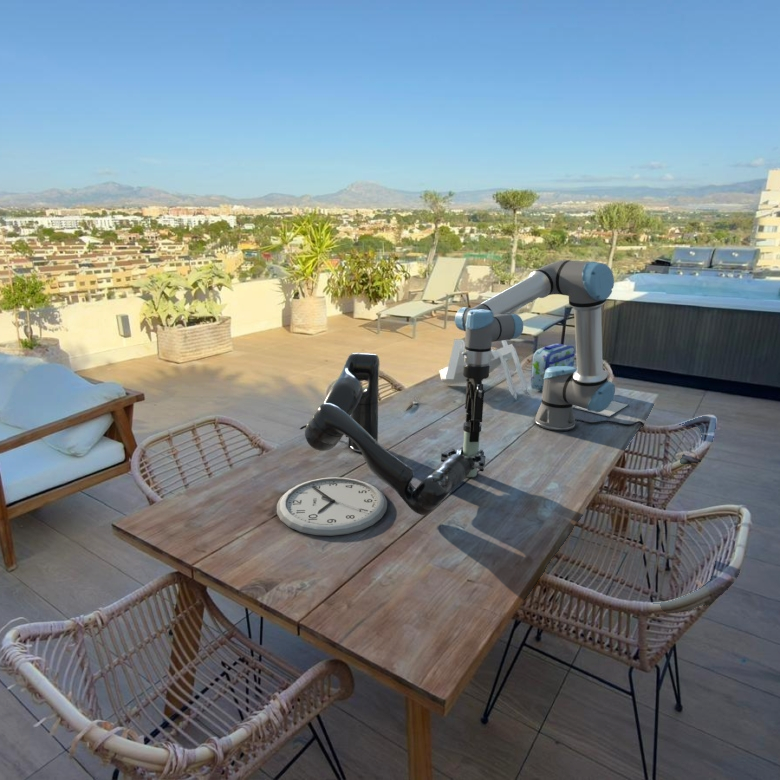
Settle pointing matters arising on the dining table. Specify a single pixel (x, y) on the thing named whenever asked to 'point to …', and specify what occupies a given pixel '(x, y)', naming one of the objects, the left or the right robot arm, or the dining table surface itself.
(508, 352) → the white plastic object
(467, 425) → the lid
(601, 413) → the invitation card
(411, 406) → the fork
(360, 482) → the wall clock
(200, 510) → the dining table surface
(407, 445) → the dining table surface
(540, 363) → the lunch box
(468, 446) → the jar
